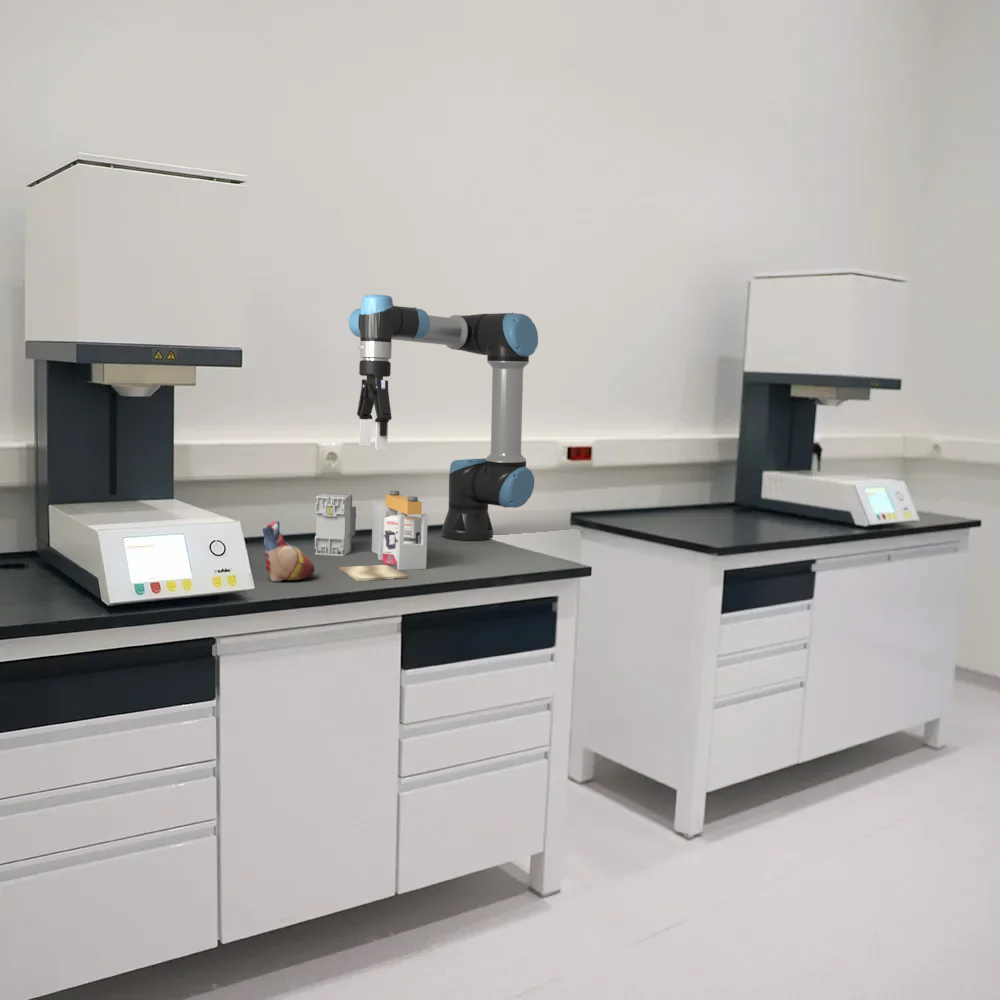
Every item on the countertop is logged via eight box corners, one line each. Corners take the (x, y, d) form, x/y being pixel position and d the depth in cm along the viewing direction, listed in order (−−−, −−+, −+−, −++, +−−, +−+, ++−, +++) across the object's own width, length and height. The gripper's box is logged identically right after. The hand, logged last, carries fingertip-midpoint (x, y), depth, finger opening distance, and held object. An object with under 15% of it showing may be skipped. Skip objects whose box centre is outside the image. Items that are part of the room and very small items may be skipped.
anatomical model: (305, 589, 219) (283, 526, 215) (269, 594, 222) (247, 533, 218) (321, 570, 228) (301, 510, 224) (287, 576, 231) (266, 516, 226)
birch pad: (386, 567, 243) (386, 564, 243) (407, 578, 231) (407, 575, 230) (339, 569, 238) (339, 567, 238) (357, 581, 225) (357, 578, 225)
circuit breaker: (356, 547, 270) (357, 491, 268) (343, 556, 255) (344, 498, 254) (329, 545, 270) (330, 490, 268) (314, 554, 256) (315, 496, 254)
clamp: (388, 550, 266) (389, 500, 265) (426, 568, 243) (427, 514, 241) (363, 551, 263) (364, 501, 262) (399, 570, 240) (400, 515, 238)
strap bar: (398, 505, 254) (399, 490, 253) (421, 514, 240) (421, 497, 240) (385, 506, 252) (385, 490, 252) (407, 514, 239) (407, 497, 238)
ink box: (381, 564, 247) (382, 517, 245) (389, 560, 251) (391, 514, 250) (413, 567, 244) (415, 519, 243) (421, 564, 249) (422, 517, 248)
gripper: (346, 359, 251) (344, 443, 254) (375, 358, 228) (373, 451, 231) (374, 360, 254) (372, 443, 257) (406, 360, 232) (403, 451, 234)
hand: (372, 447), depth 244 cm, fingers open, 13 cm apart
